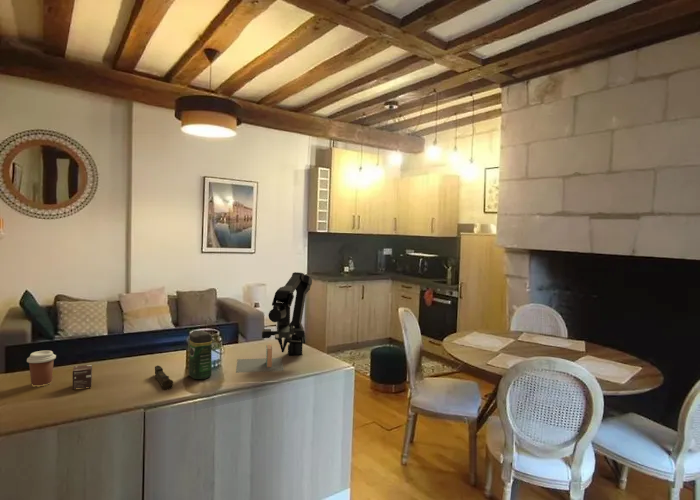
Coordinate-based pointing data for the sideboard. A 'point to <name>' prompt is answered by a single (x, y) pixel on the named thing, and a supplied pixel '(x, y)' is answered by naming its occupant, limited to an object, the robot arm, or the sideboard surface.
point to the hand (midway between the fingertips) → (282, 352)
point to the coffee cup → (41, 367)
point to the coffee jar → (200, 355)
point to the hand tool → (163, 378)
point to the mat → (258, 365)
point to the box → (82, 376)
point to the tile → (268, 355)
